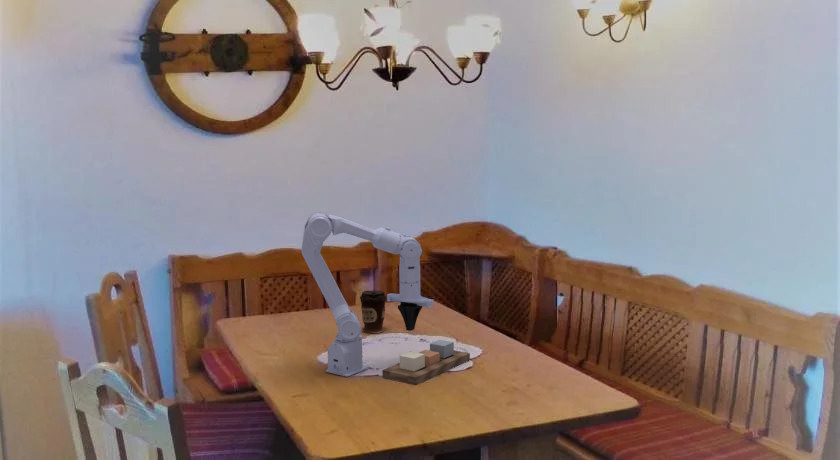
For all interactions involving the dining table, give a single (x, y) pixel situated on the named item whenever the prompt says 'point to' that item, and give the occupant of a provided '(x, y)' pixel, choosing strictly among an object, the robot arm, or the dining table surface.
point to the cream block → (412, 361)
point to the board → (425, 369)
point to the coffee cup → (373, 310)
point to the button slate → (442, 348)
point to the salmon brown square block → (431, 357)
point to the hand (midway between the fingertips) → (410, 329)
